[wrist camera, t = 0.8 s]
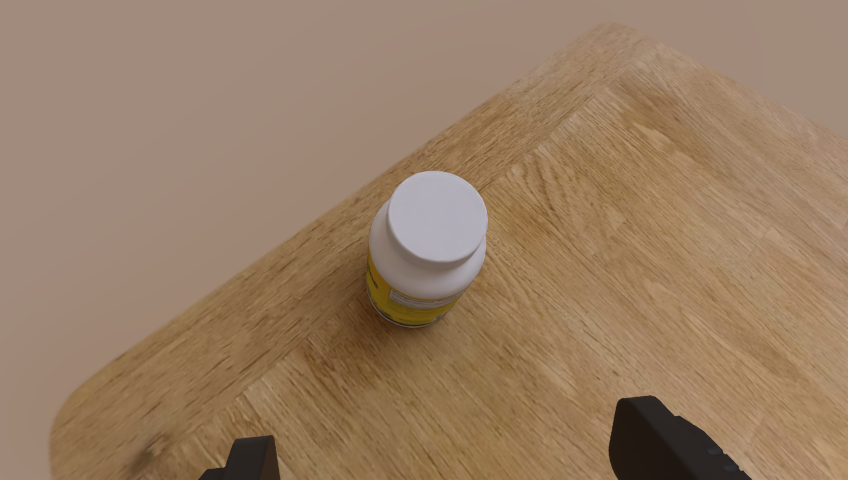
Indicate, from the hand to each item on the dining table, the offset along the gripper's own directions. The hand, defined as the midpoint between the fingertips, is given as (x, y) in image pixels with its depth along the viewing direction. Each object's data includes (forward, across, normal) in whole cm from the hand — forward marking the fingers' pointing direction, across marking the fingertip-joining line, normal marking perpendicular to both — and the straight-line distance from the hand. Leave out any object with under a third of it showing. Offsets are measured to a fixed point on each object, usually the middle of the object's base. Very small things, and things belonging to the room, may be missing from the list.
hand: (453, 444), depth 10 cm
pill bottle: (+19, -1, +5) cm, 20 cm away
